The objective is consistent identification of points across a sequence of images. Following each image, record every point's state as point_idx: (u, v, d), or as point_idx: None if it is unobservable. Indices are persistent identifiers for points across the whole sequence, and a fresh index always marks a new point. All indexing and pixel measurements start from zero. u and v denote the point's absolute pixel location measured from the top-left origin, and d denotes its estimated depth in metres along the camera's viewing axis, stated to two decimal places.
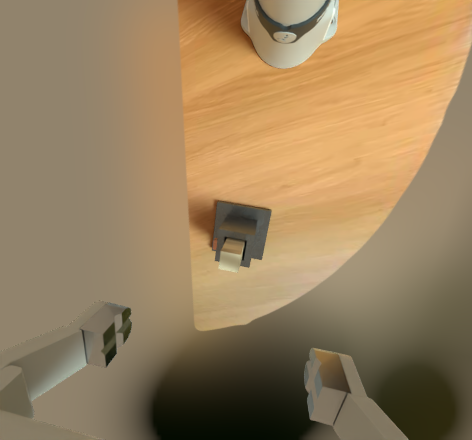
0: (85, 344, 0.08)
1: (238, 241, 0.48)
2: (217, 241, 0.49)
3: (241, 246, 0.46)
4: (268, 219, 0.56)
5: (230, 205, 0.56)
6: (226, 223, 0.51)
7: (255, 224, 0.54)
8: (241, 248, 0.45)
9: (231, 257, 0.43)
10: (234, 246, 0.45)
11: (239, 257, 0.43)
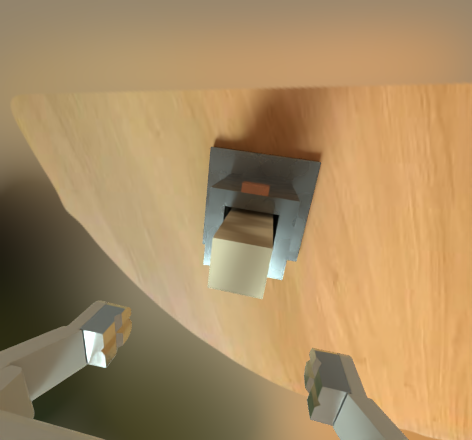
0: (85, 344, 0.08)
1: None
2: (265, 196, 0.19)
3: None
4: None
5: (311, 190, 0.28)
6: None
7: None
8: None
9: (254, 275, 0.15)
10: None
11: (254, 294, 0.16)
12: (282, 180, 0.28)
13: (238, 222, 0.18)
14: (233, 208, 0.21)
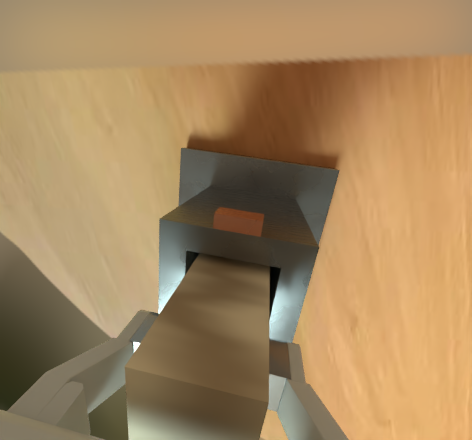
0: None
1: None
2: (255, 237, 0.11)
3: None
4: None
5: (324, 209, 0.20)
6: None
7: None
8: None
9: None
10: None
11: None
12: (283, 195, 0.20)
13: (204, 291, 0.09)
14: None
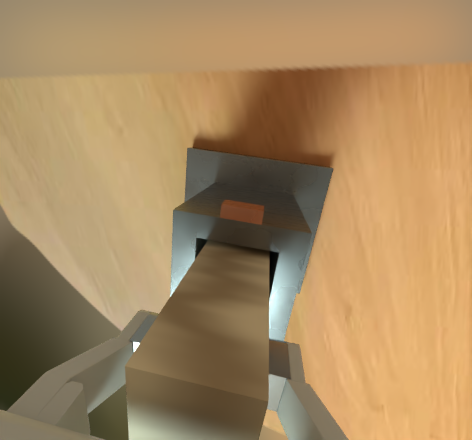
0: None
1: None
2: (256, 225, 0.12)
3: None
4: None
5: (320, 204, 0.22)
6: None
7: None
8: None
9: None
10: None
11: None
12: (281, 191, 0.22)
13: (204, 290, 0.10)
14: (204, 250, 0.13)
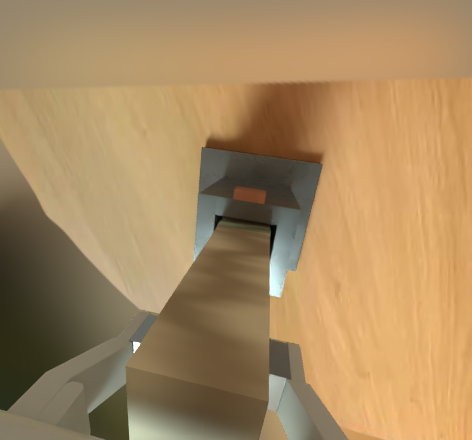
0: None
1: None
2: (260, 204, 0.17)
3: None
4: None
5: (312, 194, 0.26)
6: None
7: None
8: None
9: None
10: None
11: None
12: (280, 184, 0.26)
13: (204, 290, 0.10)
14: (204, 250, 0.13)
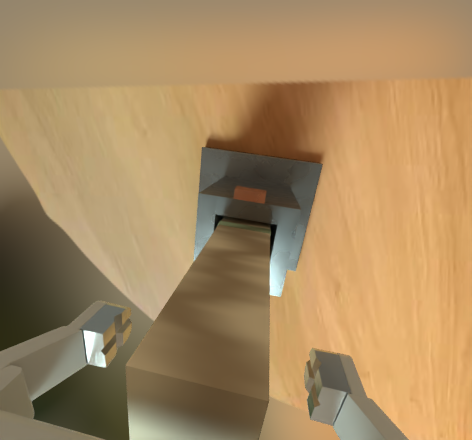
0: (85, 344, 0.08)
1: None
2: (260, 204, 0.17)
3: None
4: None
5: (312, 194, 0.26)
6: None
7: None
8: None
9: None
10: None
11: None
12: (280, 183, 0.26)
13: (204, 290, 0.10)
14: (204, 249, 0.13)
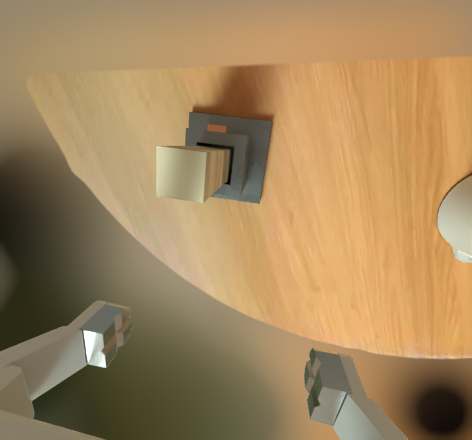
0: (85, 344, 0.08)
1: (218, 178, 0.23)
2: (223, 133, 0.28)
3: (213, 190, 0.21)
4: (247, 200, 0.41)
5: (267, 143, 0.37)
6: (248, 143, 0.32)
7: (244, 186, 0.37)
8: (210, 193, 0.21)
9: (194, 180, 0.18)
10: (212, 177, 0.20)
11: (196, 199, 0.18)
12: None
13: (187, 147, 0.21)
14: (188, 146, 0.24)
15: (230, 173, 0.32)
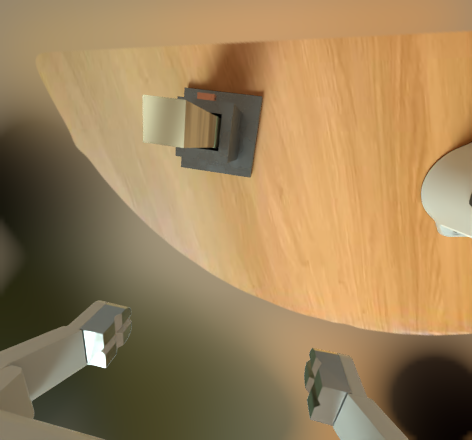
0: (85, 344, 0.08)
1: (202, 136, 0.25)
2: (212, 101, 0.30)
3: (196, 144, 0.24)
4: (239, 174, 0.43)
5: (257, 118, 0.39)
6: (237, 114, 0.34)
7: (234, 158, 0.39)
8: (193, 145, 0.23)
9: (175, 126, 0.20)
10: (194, 130, 0.23)
11: (177, 144, 0.20)
12: None
13: None
14: None
15: None
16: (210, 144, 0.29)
